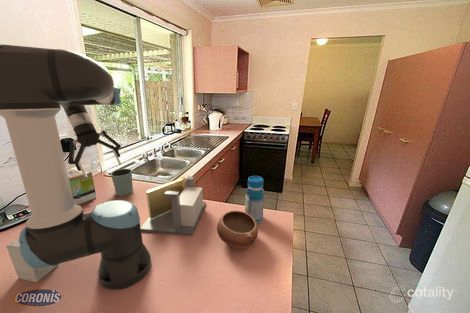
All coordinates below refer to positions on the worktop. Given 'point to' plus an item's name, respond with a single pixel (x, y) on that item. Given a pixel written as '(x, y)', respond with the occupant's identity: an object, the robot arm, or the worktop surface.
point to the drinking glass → (122, 181)
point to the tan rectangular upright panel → (157, 199)
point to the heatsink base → (167, 224)
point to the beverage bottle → (255, 198)
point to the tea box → (81, 185)
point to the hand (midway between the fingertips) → (103, 170)
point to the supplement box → (25, 264)
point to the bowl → (237, 229)
